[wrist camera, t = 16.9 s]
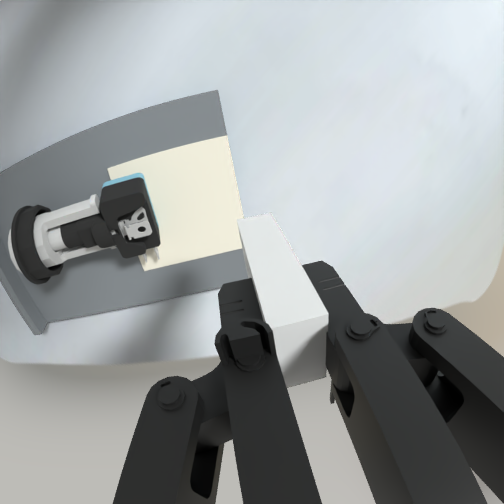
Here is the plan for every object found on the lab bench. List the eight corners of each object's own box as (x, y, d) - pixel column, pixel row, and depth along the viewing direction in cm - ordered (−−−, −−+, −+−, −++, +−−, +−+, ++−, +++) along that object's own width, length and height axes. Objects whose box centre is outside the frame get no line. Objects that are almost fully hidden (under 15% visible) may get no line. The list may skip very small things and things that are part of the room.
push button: (170, 283, 18) (44, 312, 16) (163, 228, 22) (52, 258, 20) (141, 202, 13) (-9, 251, 11) (141, 152, 17) (15, 196, 15)
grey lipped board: (-19, 185, 16) (-37, 196, 13) (217, 90, 17) (219, 88, 14) (44, 316, 23) (34, 335, 20) (253, 270, 24) (260, 291, 21)
